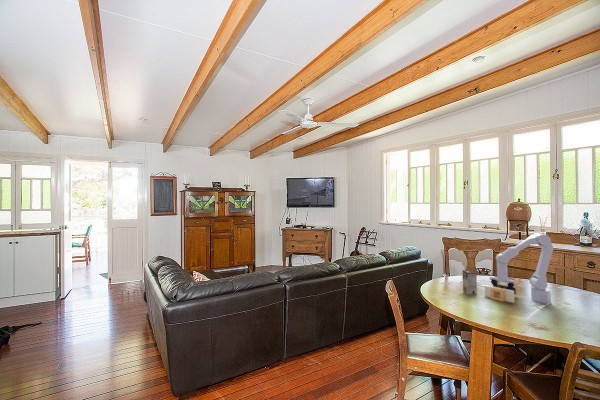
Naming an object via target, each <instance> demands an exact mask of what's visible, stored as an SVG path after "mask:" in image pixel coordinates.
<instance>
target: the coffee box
mask: <svg viewBox="0 0 600 400" xmlns="http://www.w3.org/2000/svg"><path fill="white" fill-rule="evenodd" d="M477 279H478V277H477V272H475V271H473V270H470V269H467V270H465V269H463V270H462V293H464V294H465V293H466V294H467V295H478V293H477V291H478V289H477V288H478V287H477V286H478V285H477V283H478V282H477V281H478V280H477Z"/></svg>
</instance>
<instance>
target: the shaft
mask: <svg viewBox="0 0 600 400" xmlns="http://www.w3.org/2000/svg"><path fill="white" fill-rule="evenodd" d="M497 287H498V288H503V289H508V285H506V284H500V283H497ZM512 290H513V291H514V296H515V295H517V287H515V286H513V288H512ZM494 294H495V295H498V294H500V292H495V293H494Z"/></svg>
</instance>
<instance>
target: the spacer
mask: <svg viewBox="0 0 600 400" xmlns="http://www.w3.org/2000/svg"><path fill="white" fill-rule="evenodd" d="M495 291H496V292H500V298H499V297H495V294H494V293H495ZM490 299H491V300H495V301H500V302H502V303H504V302H505V301H504V290H501V289H496V288H491V298H490Z"/></svg>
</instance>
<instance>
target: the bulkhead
mask: <svg viewBox="0 0 600 400" xmlns="http://www.w3.org/2000/svg"><path fill="white" fill-rule="evenodd" d="M491 288H496V289H501V290H504V302H507V303H513V304H514V303H515V295H514V291H513V290H508V289H503V288H498V287H494V286H493V285H489V284H488V285H487V284H485V285H484V297H486V298H490V299H491ZM495 292H496V291H495ZM495 297H499V298H500V294H498V295H495Z"/></svg>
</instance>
